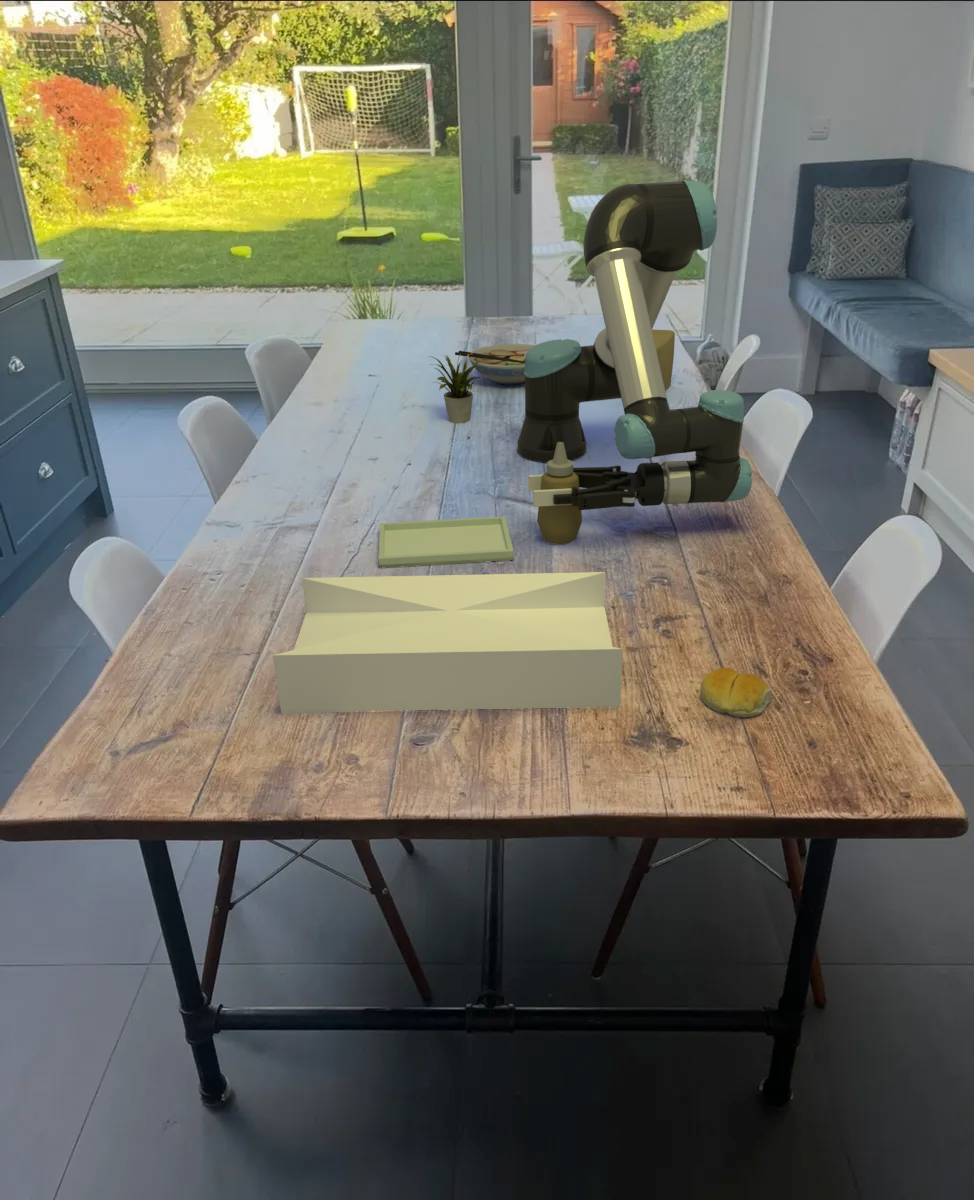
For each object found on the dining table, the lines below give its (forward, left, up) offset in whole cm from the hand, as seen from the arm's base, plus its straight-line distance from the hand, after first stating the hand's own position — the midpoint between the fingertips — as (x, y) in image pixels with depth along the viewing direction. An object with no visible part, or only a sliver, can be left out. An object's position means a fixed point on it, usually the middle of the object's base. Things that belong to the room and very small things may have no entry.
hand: (531, 490), depth 174 cm
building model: (+27, -34, -10) cm, 45 cm away
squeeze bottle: (+3, +4, -10) cm, 11 cm away
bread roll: (+57, -9, -10) cm, 58 cm away
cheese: (-50, +75, -10) cm, 91 cm away
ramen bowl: (-84, +56, -10) cm, 102 cm away
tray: (-7, -14, -9) cm, 18 cm away
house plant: (-66, +26, -10) cm, 72 cm away
